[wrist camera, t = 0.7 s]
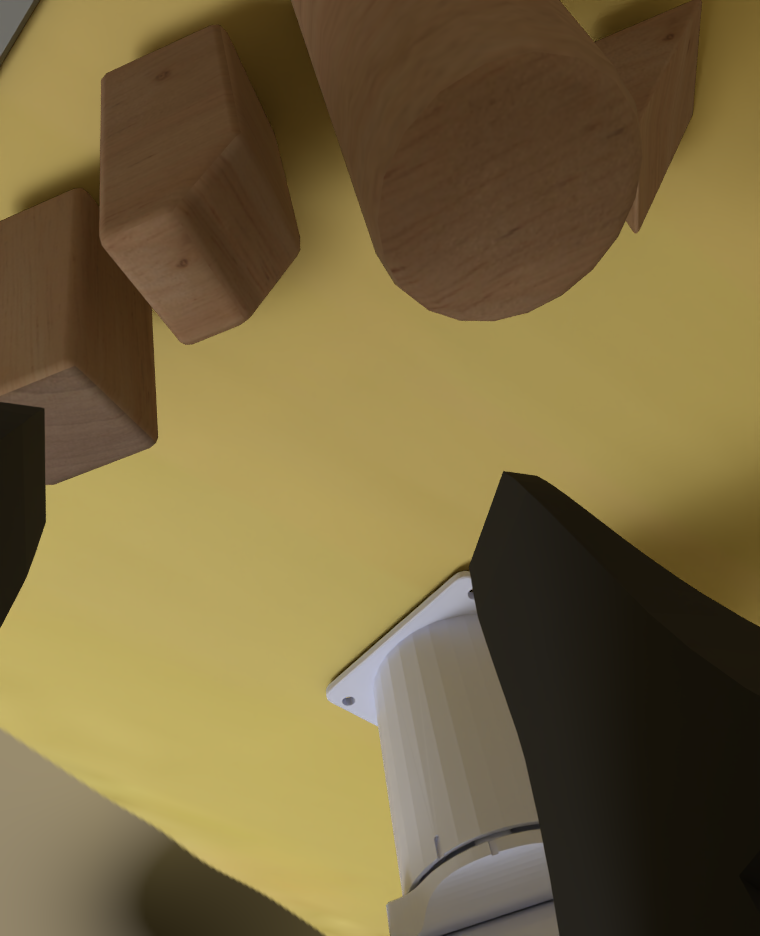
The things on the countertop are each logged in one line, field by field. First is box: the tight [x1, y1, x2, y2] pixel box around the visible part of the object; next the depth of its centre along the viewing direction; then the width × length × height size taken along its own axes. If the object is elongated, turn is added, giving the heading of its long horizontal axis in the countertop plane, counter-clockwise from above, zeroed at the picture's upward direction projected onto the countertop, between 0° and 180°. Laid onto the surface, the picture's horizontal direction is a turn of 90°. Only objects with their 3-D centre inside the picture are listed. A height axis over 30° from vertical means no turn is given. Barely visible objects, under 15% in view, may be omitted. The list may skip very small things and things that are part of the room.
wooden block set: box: [0, 0, 702, 485], centre depth 15 cm, size 18×9×10 cm, turn 111°
